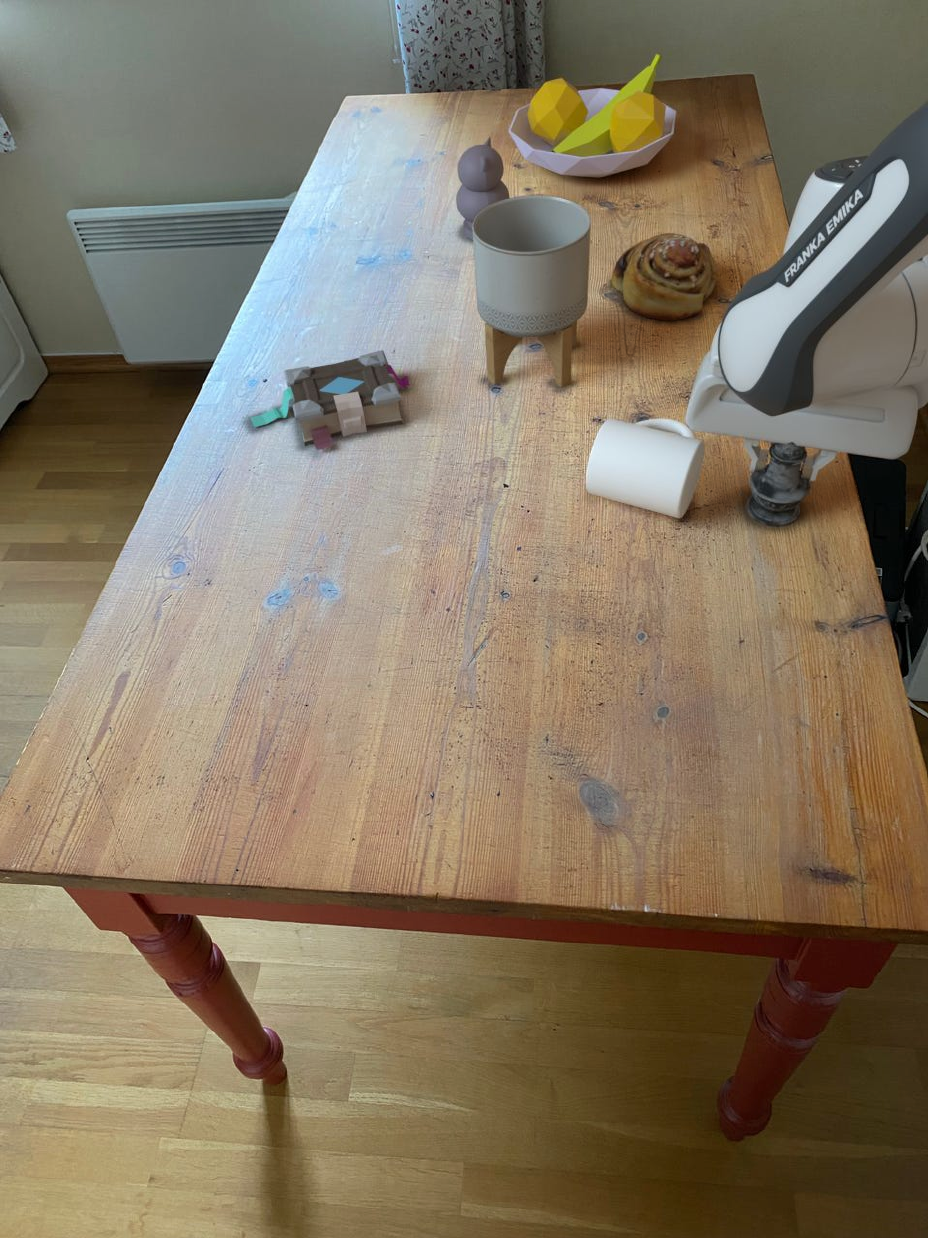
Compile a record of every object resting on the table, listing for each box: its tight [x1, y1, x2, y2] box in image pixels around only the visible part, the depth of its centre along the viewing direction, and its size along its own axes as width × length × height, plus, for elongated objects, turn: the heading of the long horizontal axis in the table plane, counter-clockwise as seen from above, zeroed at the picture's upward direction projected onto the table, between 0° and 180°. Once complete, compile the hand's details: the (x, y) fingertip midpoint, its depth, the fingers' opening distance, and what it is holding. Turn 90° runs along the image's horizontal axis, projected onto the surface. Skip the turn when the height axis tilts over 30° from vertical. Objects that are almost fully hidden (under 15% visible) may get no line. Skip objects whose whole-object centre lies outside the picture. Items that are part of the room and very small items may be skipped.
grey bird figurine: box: [455, 136, 511, 241], centre depth 129 cm, size 8×8×12 cm
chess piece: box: [746, 442, 811, 528], centre depth 87 cm, size 6×6×12 cm
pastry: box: [611, 232, 718, 322], centre depth 116 cm, size 13×15×8 cm
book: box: [249, 349, 410, 451], centre depth 104 cm, size 20×12×5 cm, turn 106°
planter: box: [472, 194, 592, 389], centre depth 104 cm, size 13×13×18 cm
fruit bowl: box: [508, 53, 677, 179], centre depth 142 cm, size 28×27×11 cm
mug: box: [585, 417, 706, 519], centre depth 92 cm, size 12×10×8 cm
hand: (781, 472), depth 88 cm, fingers closed on chess piece, 3 cm apart
